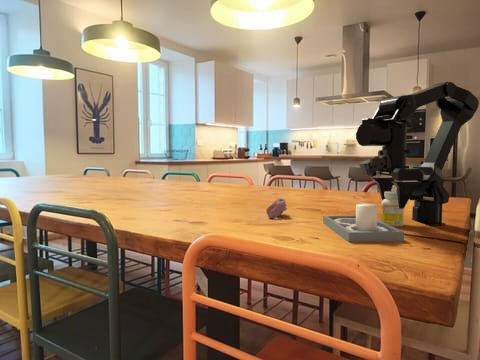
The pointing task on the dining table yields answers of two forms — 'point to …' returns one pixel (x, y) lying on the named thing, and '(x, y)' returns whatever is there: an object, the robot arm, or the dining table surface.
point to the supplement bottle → (391, 210)
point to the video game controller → (276, 208)
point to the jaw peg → (366, 217)
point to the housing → (347, 230)
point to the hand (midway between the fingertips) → (392, 205)
